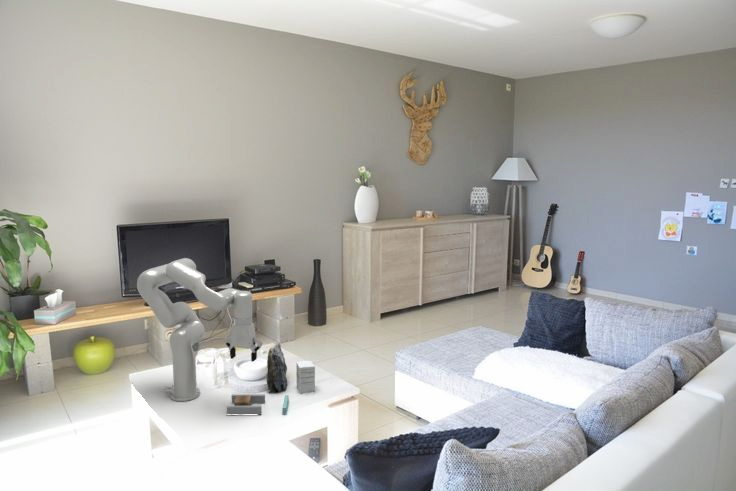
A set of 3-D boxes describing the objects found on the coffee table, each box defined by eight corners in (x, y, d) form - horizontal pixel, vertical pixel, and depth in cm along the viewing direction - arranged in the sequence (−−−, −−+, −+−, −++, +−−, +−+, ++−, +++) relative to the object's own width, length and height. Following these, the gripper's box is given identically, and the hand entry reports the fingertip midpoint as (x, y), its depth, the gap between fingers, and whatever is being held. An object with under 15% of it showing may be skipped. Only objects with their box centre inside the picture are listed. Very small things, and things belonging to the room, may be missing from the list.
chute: (226, 415, 213) (226, 407, 213) (232, 402, 225) (232, 394, 224) (261, 415, 214) (261, 407, 214) (264, 401, 226) (264, 394, 225)
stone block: (285, 393, 234) (285, 351, 231) (265, 393, 234) (265, 351, 231) (289, 377, 252) (289, 338, 249) (271, 377, 252) (271, 338, 249)
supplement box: (296, 387, 241) (296, 361, 239) (311, 385, 243) (311, 360, 241) (299, 394, 234) (299, 367, 232) (315, 392, 237) (315, 365, 235)
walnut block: (234, 412, 216) (234, 402, 216) (236, 405, 222) (236, 395, 221) (248, 412, 217) (248, 402, 216) (251, 405, 223) (250, 395, 222)
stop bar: (282, 414, 215) (282, 408, 214) (285, 401, 226) (285, 395, 226) (286, 414, 215) (285, 408, 214) (288, 401, 227) (288, 395, 226)
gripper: (220, 320, 216) (220, 359, 219) (257, 325, 212) (258, 364, 215) (229, 315, 223) (229, 353, 226) (265, 320, 219) (265, 358, 222)
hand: (243, 359), depth 220 cm, fingers open, 9 cm apart
